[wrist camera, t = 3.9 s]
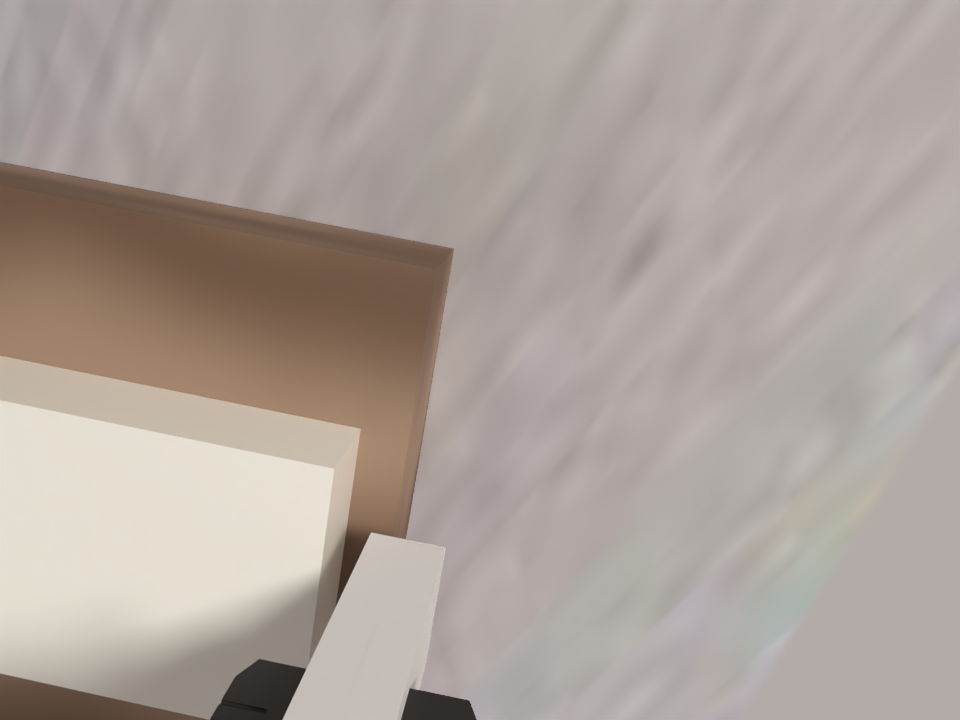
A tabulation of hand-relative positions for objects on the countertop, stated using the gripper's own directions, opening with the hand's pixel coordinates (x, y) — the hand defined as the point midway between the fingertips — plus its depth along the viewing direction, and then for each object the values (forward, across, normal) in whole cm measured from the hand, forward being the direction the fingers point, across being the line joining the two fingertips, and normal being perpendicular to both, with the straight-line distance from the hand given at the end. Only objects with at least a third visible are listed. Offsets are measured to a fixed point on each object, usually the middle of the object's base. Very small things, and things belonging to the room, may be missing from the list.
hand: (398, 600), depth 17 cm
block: (+1, -6, 0) cm, 6 cm away
